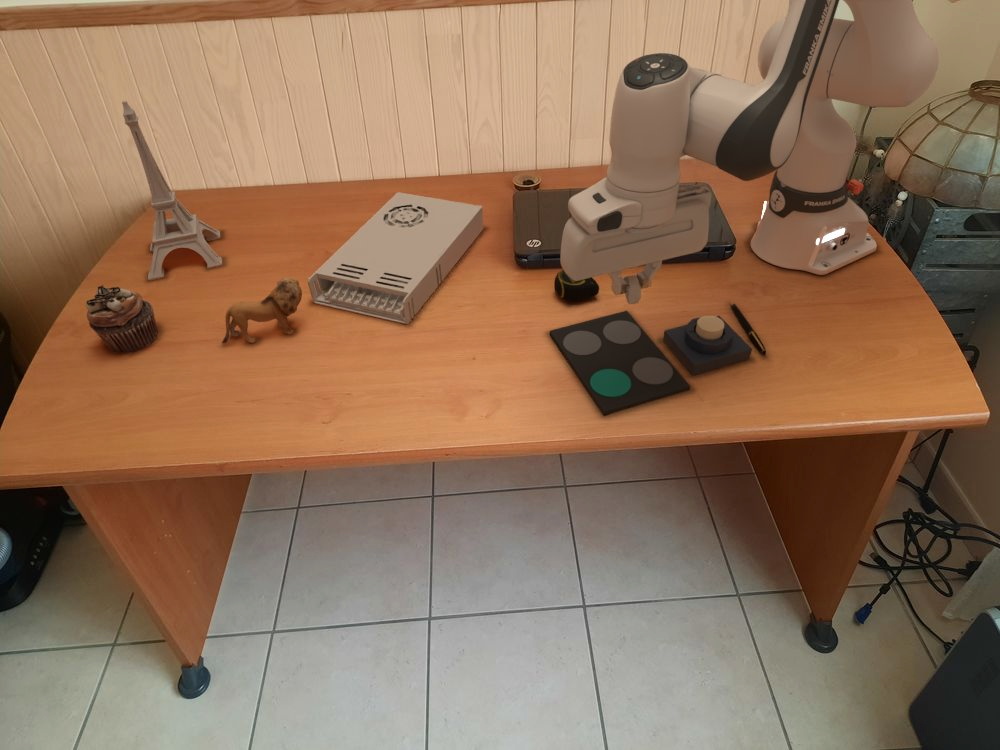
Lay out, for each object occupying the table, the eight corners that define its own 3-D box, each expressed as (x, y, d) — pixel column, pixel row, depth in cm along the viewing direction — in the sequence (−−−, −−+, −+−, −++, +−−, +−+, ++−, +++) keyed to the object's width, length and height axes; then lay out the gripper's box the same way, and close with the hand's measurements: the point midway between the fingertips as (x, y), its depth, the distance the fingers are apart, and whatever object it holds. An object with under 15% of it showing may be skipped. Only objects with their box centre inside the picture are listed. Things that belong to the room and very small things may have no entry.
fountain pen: (725, 303, 118) (727, 296, 117) (732, 302, 118) (734, 295, 117) (761, 358, 107) (763, 350, 106) (768, 357, 107) (770, 349, 106)
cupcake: (157, 352, 114) (133, 303, 108) (96, 360, 113) (68, 311, 107) (168, 317, 121) (146, 269, 115) (110, 325, 120) (85, 276, 114)
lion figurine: (306, 311, 121) (293, 267, 115) (314, 328, 117) (301, 283, 111) (220, 337, 117) (202, 293, 110) (225, 355, 113) (208, 311, 107)
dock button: (713, 321, 109) (714, 312, 107) (727, 336, 106) (729, 327, 105) (690, 327, 108) (692, 318, 106) (704, 343, 105) (706, 334, 104)
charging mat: (626, 314, 117) (626, 309, 116) (689, 390, 103) (690, 385, 102) (549, 334, 114) (549, 329, 113) (603, 415, 99) (604, 410, 99)
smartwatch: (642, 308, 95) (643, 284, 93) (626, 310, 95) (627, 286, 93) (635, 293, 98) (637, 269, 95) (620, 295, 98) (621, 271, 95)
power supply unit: (313, 303, 123) (306, 279, 119) (400, 213, 145) (397, 191, 141) (408, 325, 117) (404, 301, 114) (484, 228, 139) (482, 206, 136)
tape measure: (599, 300, 120) (601, 282, 117) (562, 309, 118) (563, 291, 116) (584, 279, 125) (585, 261, 122) (548, 287, 123) (548, 269, 121)
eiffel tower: (220, 232, 142) (166, 82, 122) (222, 265, 133) (165, 109, 113) (151, 245, 140) (85, 94, 119) (148, 280, 130) (76, 123, 110)
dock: (716, 326, 113) (721, 306, 111) (749, 359, 107) (754, 339, 104) (662, 341, 111) (665, 321, 108) (692, 376, 105) (696, 356, 102)
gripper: (700, 171, 91) (685, 261, 100) (556, 201, 87) (554, 293, 96) (727, 192, 87) (709, 284, 96) (577, 225, 82) (573, 318, 91)
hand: (630, 289), depth 96 cm, fingers closed on smartwatch, 2 cm apart
